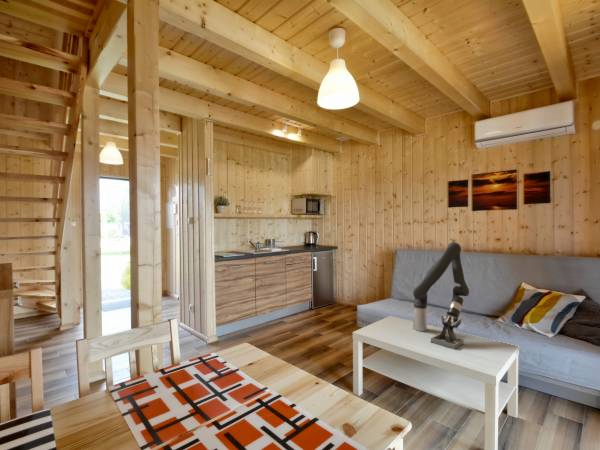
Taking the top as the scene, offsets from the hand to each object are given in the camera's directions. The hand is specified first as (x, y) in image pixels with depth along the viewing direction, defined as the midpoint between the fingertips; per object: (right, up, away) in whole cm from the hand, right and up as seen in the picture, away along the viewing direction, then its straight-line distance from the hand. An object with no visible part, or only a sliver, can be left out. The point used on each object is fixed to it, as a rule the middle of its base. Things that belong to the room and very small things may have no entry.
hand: (447, 331), depth 213 cm
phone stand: (0, -6, 0) cm, 6 cm away
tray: (0, -8, 0) cm, 8 cm away
